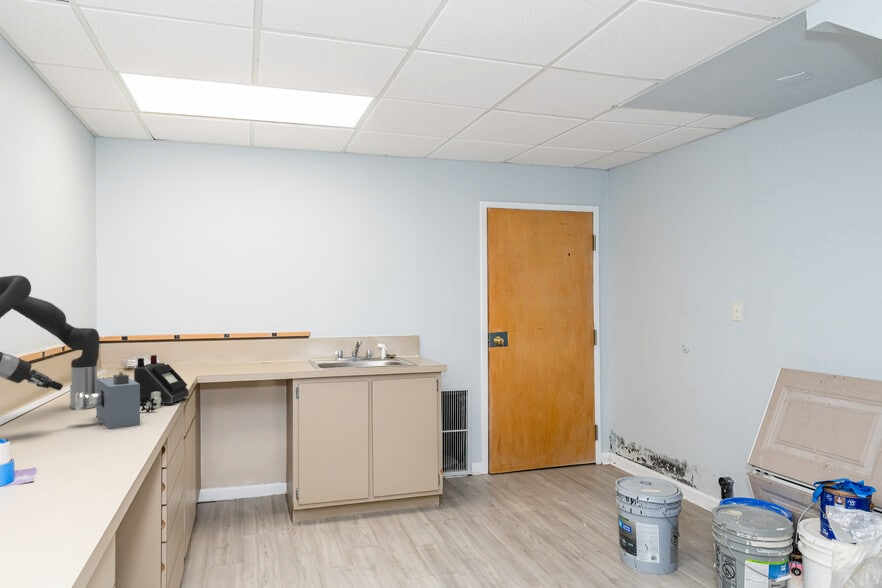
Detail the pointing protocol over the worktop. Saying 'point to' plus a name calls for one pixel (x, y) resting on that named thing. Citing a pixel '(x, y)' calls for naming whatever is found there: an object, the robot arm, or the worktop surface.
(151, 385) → the voltmeter
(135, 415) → the housing
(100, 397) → the knob
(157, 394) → the valve
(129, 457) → the worktop surface
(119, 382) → the potentiometer
